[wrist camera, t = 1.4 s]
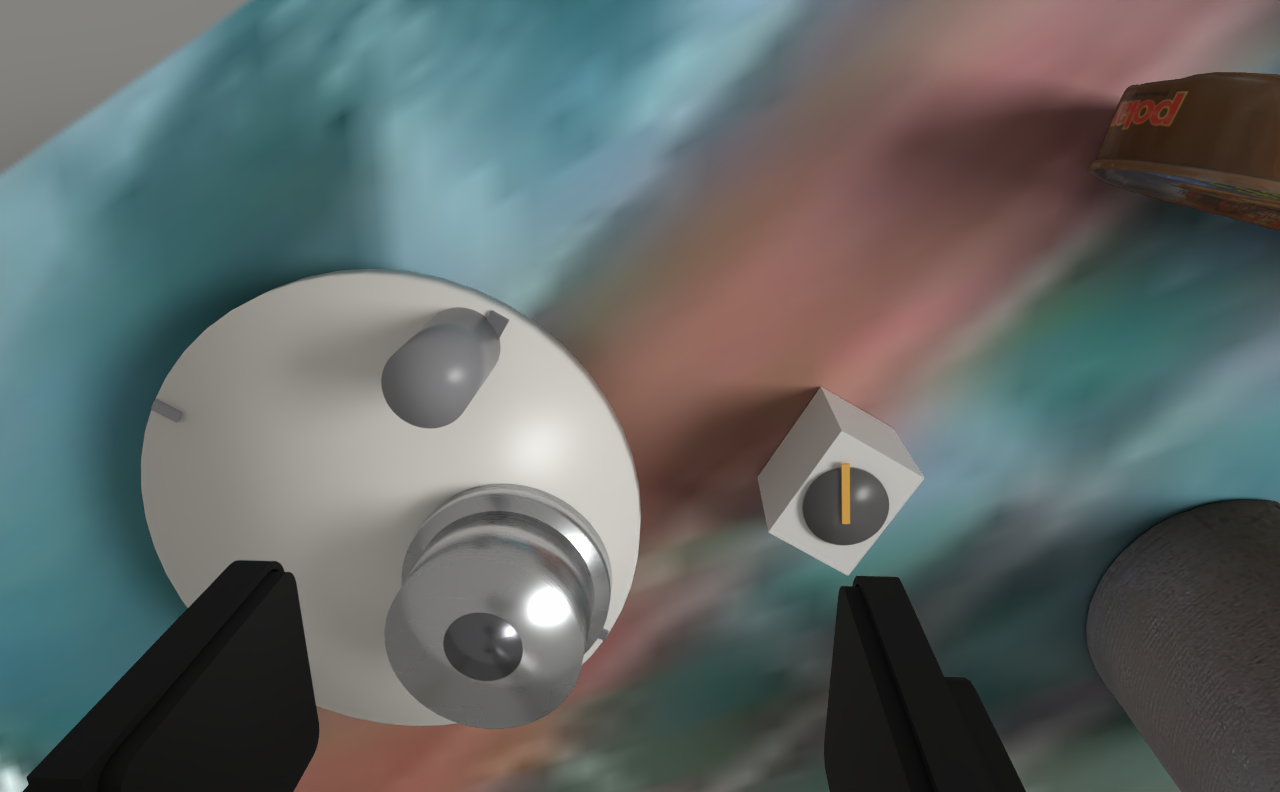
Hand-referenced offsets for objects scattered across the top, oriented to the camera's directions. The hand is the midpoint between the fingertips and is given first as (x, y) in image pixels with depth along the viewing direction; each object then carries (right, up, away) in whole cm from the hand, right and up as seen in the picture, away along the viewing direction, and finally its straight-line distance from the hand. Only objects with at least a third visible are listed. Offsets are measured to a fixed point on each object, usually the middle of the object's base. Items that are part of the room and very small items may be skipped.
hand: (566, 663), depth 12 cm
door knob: (-3, -3, +17) cm, 18 cm away
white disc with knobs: (-7, 0, +19) cm, 21 cm away
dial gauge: (+8, +2, +18) cm, 20 cm away
